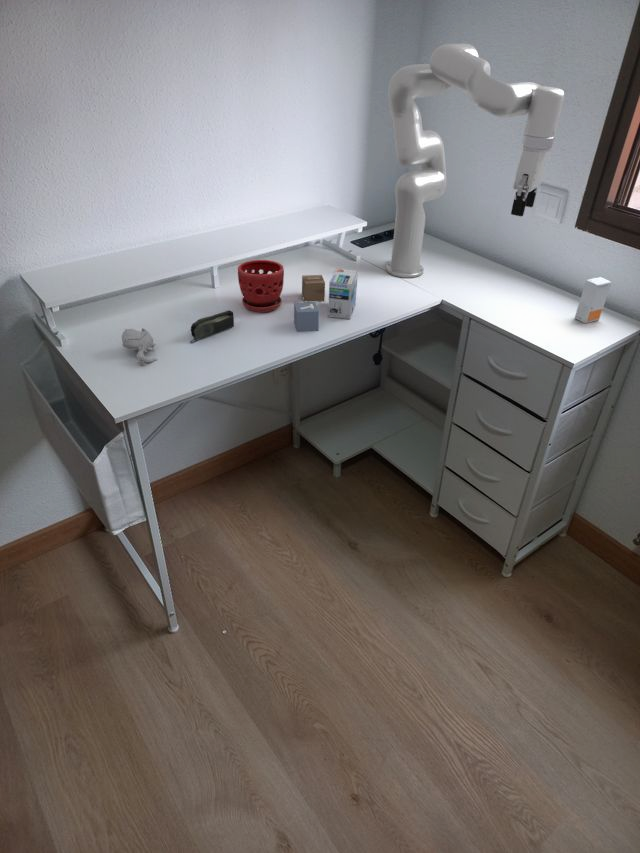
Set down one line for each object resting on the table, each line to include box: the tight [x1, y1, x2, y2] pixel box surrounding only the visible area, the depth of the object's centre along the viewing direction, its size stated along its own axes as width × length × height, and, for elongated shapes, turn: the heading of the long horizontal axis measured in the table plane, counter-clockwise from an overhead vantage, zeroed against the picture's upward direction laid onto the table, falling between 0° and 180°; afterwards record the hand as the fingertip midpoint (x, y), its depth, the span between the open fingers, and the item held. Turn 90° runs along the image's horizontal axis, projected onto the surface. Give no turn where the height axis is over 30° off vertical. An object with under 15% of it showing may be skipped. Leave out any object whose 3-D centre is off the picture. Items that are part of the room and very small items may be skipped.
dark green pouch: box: [190, 309, 235, 344], centre depth 167 cm, size 5×3×15 cm
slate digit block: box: [293, 301, 320, 333], centre depth 172 cm, size 6×6×6 cm
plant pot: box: [237, 259, 285, 313], centre depth 181 cm, size 13×13×12 cm
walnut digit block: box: [301, 274, 326, 302], centre depth 188 cm, size 6×6×6 cm
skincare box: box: [574, 276, 613, 324], centre depth 180 cm, size 6×4×12 cm
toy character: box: [121, 328, 158, 366], centre depth 157 cm, size 6×9×12 cm
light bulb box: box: [327, 268, 359, 320], centre depth 180 cm, size 11×7×11 cm, turn 168°
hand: (522, 210), depth 168 cm, fingers open, 9 cm apart
